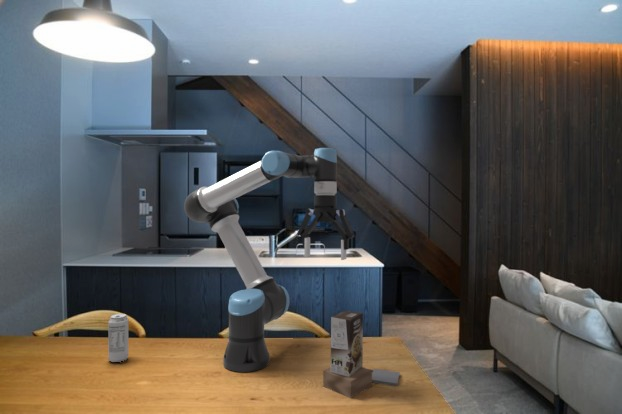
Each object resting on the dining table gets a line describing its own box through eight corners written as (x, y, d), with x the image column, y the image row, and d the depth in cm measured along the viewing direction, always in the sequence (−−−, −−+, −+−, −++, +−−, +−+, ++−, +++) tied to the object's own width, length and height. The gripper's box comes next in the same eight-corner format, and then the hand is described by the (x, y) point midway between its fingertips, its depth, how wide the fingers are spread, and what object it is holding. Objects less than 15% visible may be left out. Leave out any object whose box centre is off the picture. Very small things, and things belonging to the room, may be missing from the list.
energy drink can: (131, 356, 136) (131, 313, 136) (123, 363, 130) (123, 318, 130) (113, 356, 136) (113, 313, 136) (105, 363, 130) (105, 318, 130)
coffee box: (350, 377, 110) (350, 320, 110) (329, 372, 114) (330, 316, 114) (363, 366, 118) (363, 312, 118) (344, 361, 121) (344, 309, 121)
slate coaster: (369, 382, 118) (369, 379, 118) (374, 371, 126) (374, 368, 126) (397, 386, 115) (397, 383, 115) (399, 374, 123) (399, 372, 123)
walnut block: (323, 387, 115) (323, 370, 115) (344, 377, 122) (344, 360, 122) (350, 399, 108) (350, 381, 108) (371, 387, 115) (371, 370, 115)
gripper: (287, 194, 135) (287, 256, 136) (356, 194, 124) (355, 262, 124) (298, 195, 142) (298, 254, 142) (364, 194, 130) (364, 259, 130)
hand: (325, 258), depth 133 cm, fingers open, 13 cm apart
